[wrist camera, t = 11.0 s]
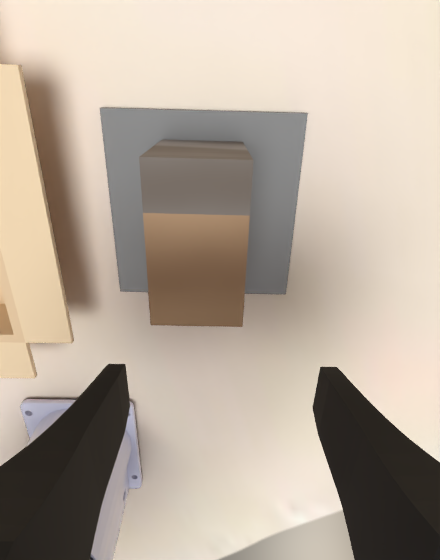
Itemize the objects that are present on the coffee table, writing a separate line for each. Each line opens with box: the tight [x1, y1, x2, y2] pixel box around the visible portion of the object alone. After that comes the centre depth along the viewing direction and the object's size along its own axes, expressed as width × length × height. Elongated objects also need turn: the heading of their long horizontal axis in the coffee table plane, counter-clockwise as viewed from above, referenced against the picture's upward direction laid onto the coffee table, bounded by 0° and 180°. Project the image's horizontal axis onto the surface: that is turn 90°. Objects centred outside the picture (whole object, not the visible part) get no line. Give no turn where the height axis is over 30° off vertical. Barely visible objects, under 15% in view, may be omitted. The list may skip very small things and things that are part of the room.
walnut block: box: [139, 139, 254, 327], centre depth 17 cm, size 7×4×6 cm, turn 178°
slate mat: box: [100, 108, 308, 294], centre depth 20 cm, size 10×10×1 cm
